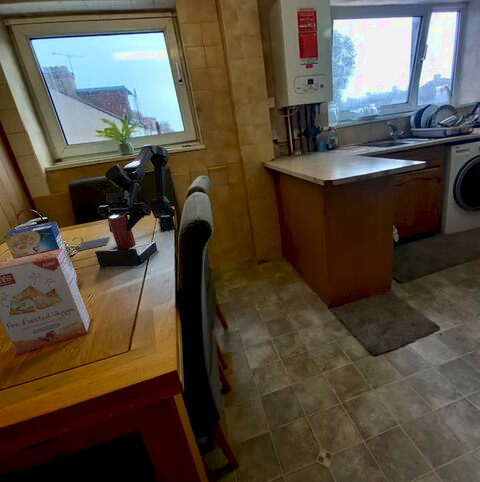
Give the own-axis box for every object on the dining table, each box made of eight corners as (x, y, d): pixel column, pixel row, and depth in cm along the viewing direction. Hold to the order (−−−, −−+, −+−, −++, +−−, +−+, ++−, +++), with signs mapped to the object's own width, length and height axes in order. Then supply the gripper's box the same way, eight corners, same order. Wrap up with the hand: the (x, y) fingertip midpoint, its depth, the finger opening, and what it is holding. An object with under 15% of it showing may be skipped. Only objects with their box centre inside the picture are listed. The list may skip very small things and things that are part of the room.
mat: (109, 237, 134) (108, 237, 134) (105, 245, 124) (105, 244, 124) (83, 242, 131) (83, 242, 131) (77, 251, 121) (77, 250, 121)
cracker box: (17, 356, 62) (-27, 275, 55) (27, 339, 67) (-12, 263, 60) (88, 334, 67) (56, 256, 60) (91, 320, 72) (62, 246, 65)
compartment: (120, 253, 113) (115, 237, 111) (158, 251, 111) (153, 235, 108) (99, 269, 101) (93, 251, 99) (140, 267, 99) (135, 249, 96)
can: (134, 241, 109) (125, 211, 104) (137, 246, 104) (128, 214, 99) (116, 246, 105) (106, 215, 101) (119, 251, 100) (108, 219, 96)
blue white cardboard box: (77, 293, 86) (51, 227, 78) (35, 305, 82) (2, 236, 74) (80, 283, 92) (56, 221, 84) (41, 294, 88) (11, 230, 80)
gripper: (91, 185, 101) (80, 223, 95) (138, 180, 98) (130, 220, 92) (111, 200, 111) (102, 236, 105) (154, 196, 109) (147, 233, 102)
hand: (119, 231), depth 101 cm, fingers closed on can, 6 cm apart
